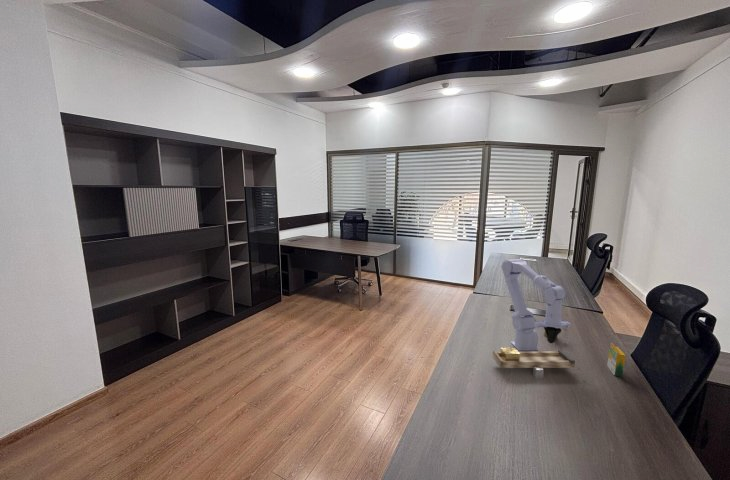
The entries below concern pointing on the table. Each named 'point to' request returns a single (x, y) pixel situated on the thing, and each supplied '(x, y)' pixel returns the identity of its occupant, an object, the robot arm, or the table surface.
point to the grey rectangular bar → (538, 372)
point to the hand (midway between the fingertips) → (550, 342)
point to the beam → (537, 360)
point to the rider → (509, 354)
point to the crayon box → (616, 360)
